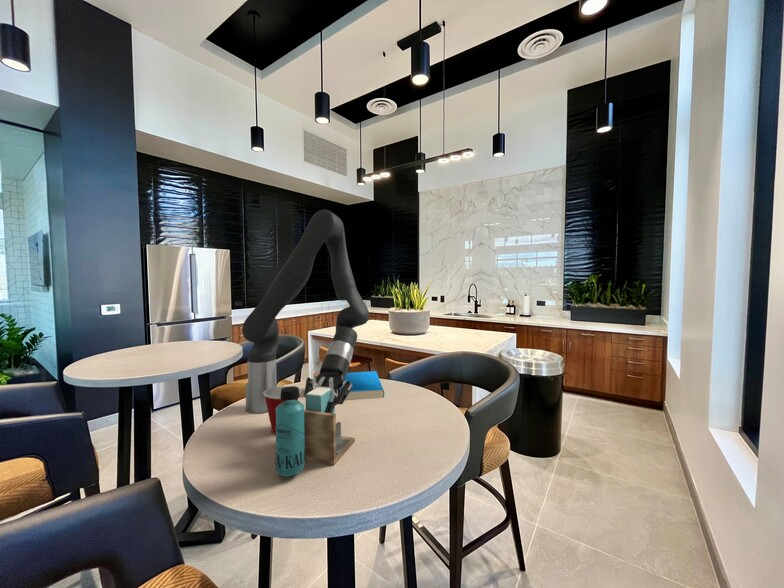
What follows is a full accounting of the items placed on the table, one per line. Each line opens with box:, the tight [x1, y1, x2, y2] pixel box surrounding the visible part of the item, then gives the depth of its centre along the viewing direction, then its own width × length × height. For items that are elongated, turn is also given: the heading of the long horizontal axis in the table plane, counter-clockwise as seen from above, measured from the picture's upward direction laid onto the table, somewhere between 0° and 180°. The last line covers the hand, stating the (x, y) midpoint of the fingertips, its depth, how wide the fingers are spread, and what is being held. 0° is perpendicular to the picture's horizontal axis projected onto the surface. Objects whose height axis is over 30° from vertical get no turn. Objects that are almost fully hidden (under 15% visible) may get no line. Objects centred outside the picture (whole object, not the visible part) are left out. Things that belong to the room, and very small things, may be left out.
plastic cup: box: [263, 385, 302, 435], centre depth 95 cm, size 11×11×12 cm
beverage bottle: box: [274, 385, 306, 477], centre depth 72 cm, size 6×7×20 cm
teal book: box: [304, 386, 336, 414], centre depth 84 cm, size 4×7×12 cm, turn 162°
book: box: [339, 370, 385, 401], centre depth 132 cm, size 17×4×25 cm
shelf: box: [304, 409, 356, 466], centre depth 84 cm, size 16×12×12 cm
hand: (317, 416), depth 82 cm, fingers closed on teal book, 4 cm apart
